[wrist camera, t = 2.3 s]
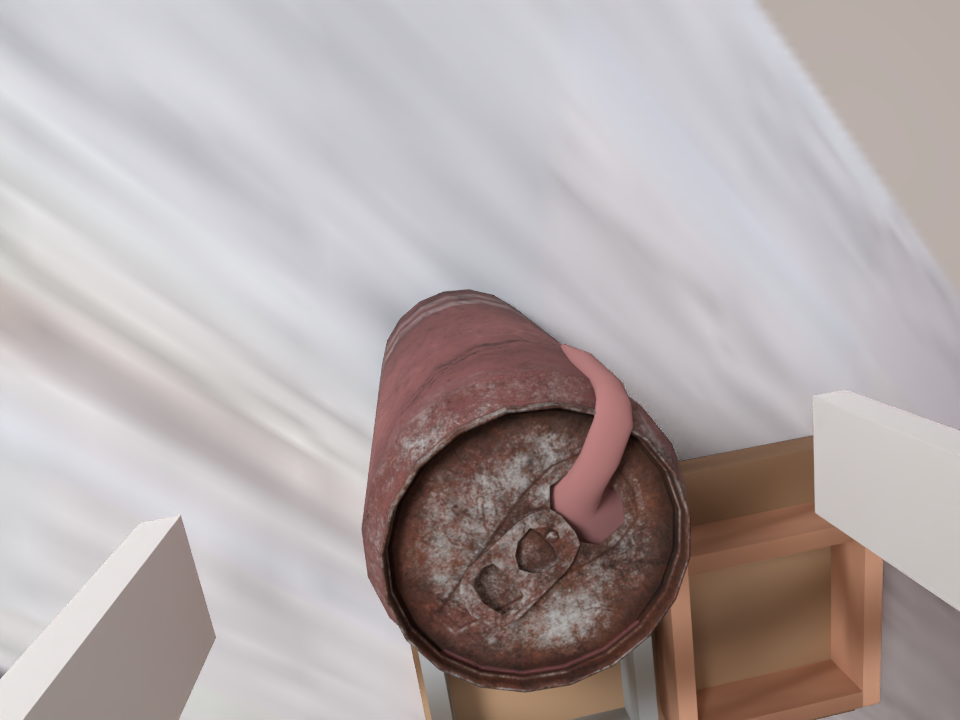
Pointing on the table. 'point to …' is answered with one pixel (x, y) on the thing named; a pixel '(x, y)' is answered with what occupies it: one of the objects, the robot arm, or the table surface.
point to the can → (517, 500)
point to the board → (729, 615)
